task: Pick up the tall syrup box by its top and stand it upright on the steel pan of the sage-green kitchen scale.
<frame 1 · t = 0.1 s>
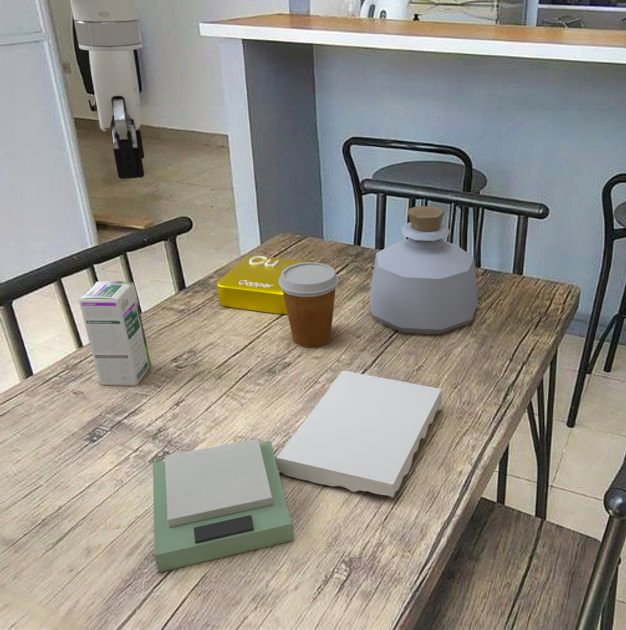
hand: (132, 167, 95), 30 cm above the table, tool pointing down, fingers open, 9 cm apart
disposable coffee cup: (311, 339, 114), on the table
bottle: (421, 311, 124), on the table
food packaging: (365, 441, 90), on the table
scale: (221, 508, 79), on the table
syrup box: (125, 376, 103), on the table
element tile: (270, 294, 129), on the table
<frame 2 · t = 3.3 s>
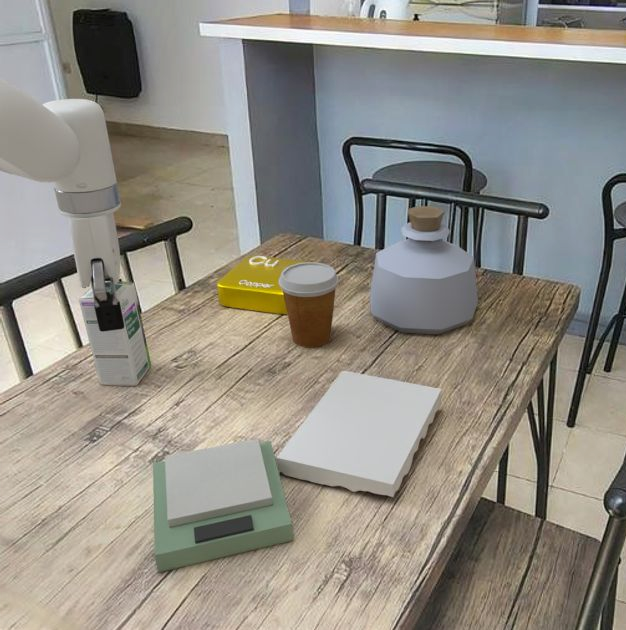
hand: (113, 316, 98), 10 cm above the table, tool pointing down, fingers closed on syrup box, 7 cm apart
syrup box: (125, 376, 103), on the table, touching gripper
everything else where it was.
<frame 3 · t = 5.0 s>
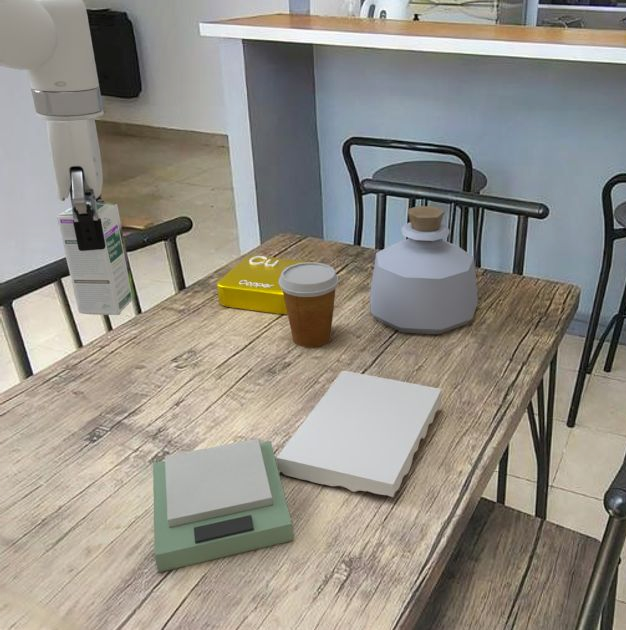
hand: (94, 238, 92), 22 cm above the table, tool pointing down, fingers closed on syrup box, 7 cm apart
syrup box: (107, 307, 96), point 12 cm above the table, touching gripper
everything else where it was.
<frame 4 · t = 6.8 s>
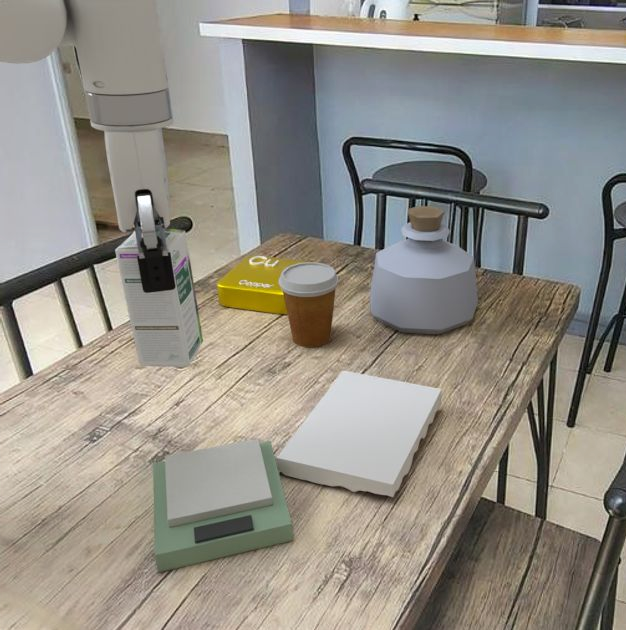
hand: (158, 274, 74), 26 cm above the table, tool pointing down, fingers closed on syrup box, 7 cm apart
syrup box: (171, 355, 79), point 15 cm above the table, touching gripper
everything else where it was.
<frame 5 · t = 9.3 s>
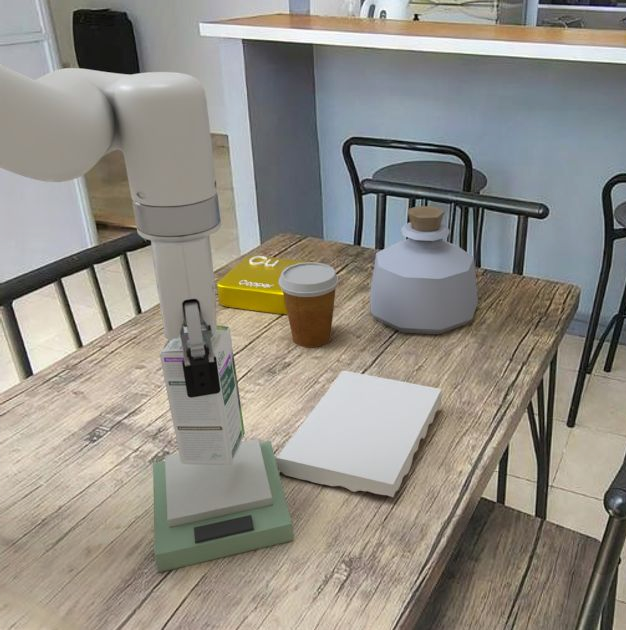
hand: (201, 372, 72), 18 cm above the table, tool pointing down, fingers closed on syrup box, 7 cm apart
syrup box: (213, 450, 77), point 7 cm above the table, touching gripper
everything else where it was.
when the fingers open (14 cm above the table, at t = 10.8 s): syrup box stays where it is, resting on scale.
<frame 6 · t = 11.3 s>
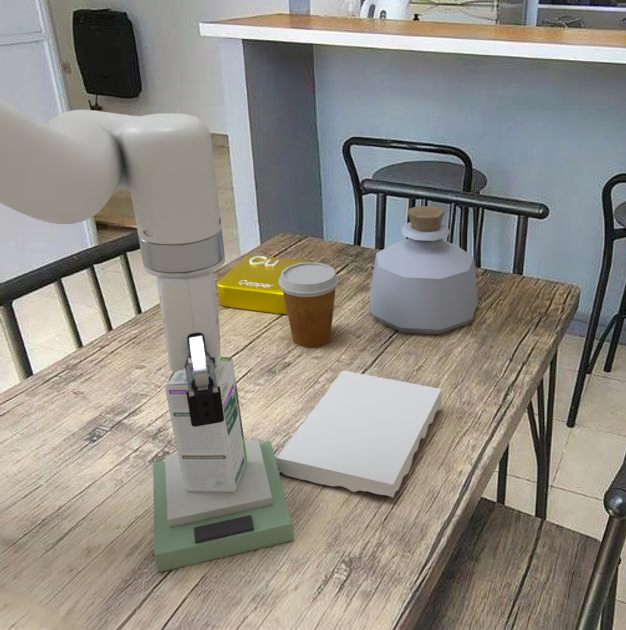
hand: (204, 396, 73), 15 cm above the table, tool pointing down, fingers open, 9 cm apart
syrup box: (216, 477, 78), point 3 cm above the table, touching scale
everything else where it was.
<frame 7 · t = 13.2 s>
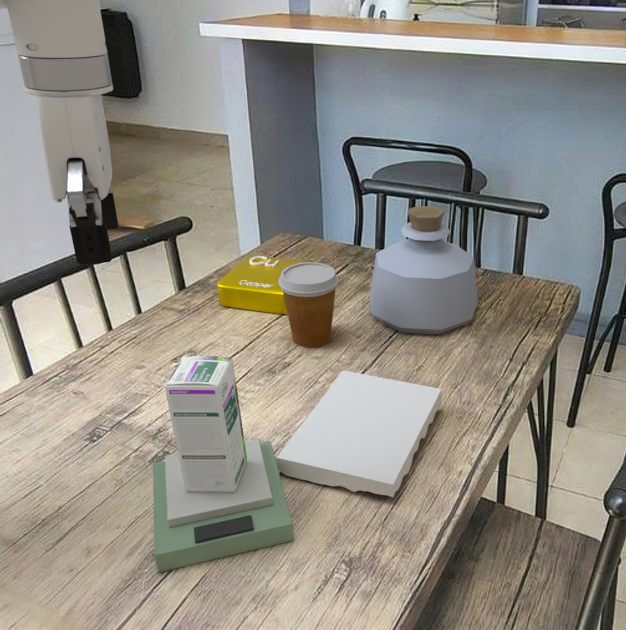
hand: (99, 244, 72), 29 cm above the table, tool pointing down, fingers open, 9 cm apart
nothing on the table moved.
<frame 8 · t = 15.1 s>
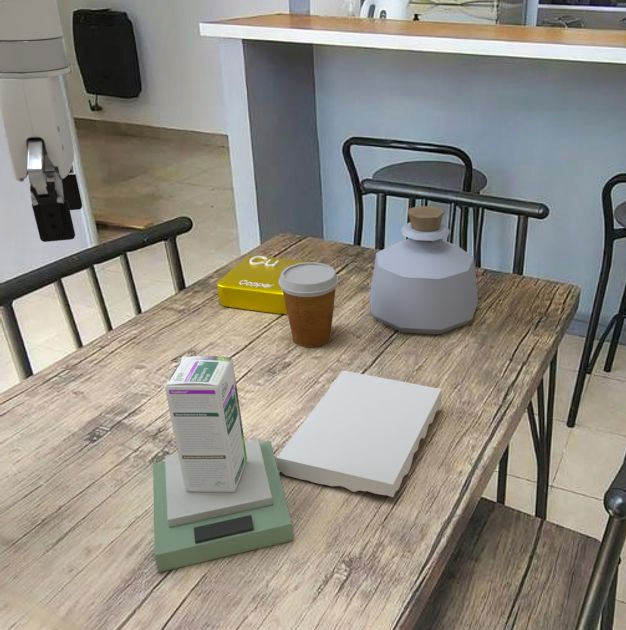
hand: (63, 223, 74), 30 cm above the table, tool pointing down, fingers open, 9 cm apart
nothing on the table moved.
at the end: syrup box inside the target area on the scale (0.0 cm from its centre), point 3.4 cm above the scale's base; syrup box tilted 0° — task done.
